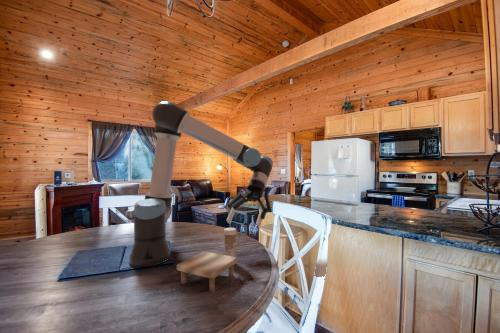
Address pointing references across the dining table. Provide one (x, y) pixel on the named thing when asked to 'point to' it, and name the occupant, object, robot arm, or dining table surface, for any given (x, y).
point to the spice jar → (230, 242)
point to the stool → (207, 266)
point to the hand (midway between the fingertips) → (242, 223)
